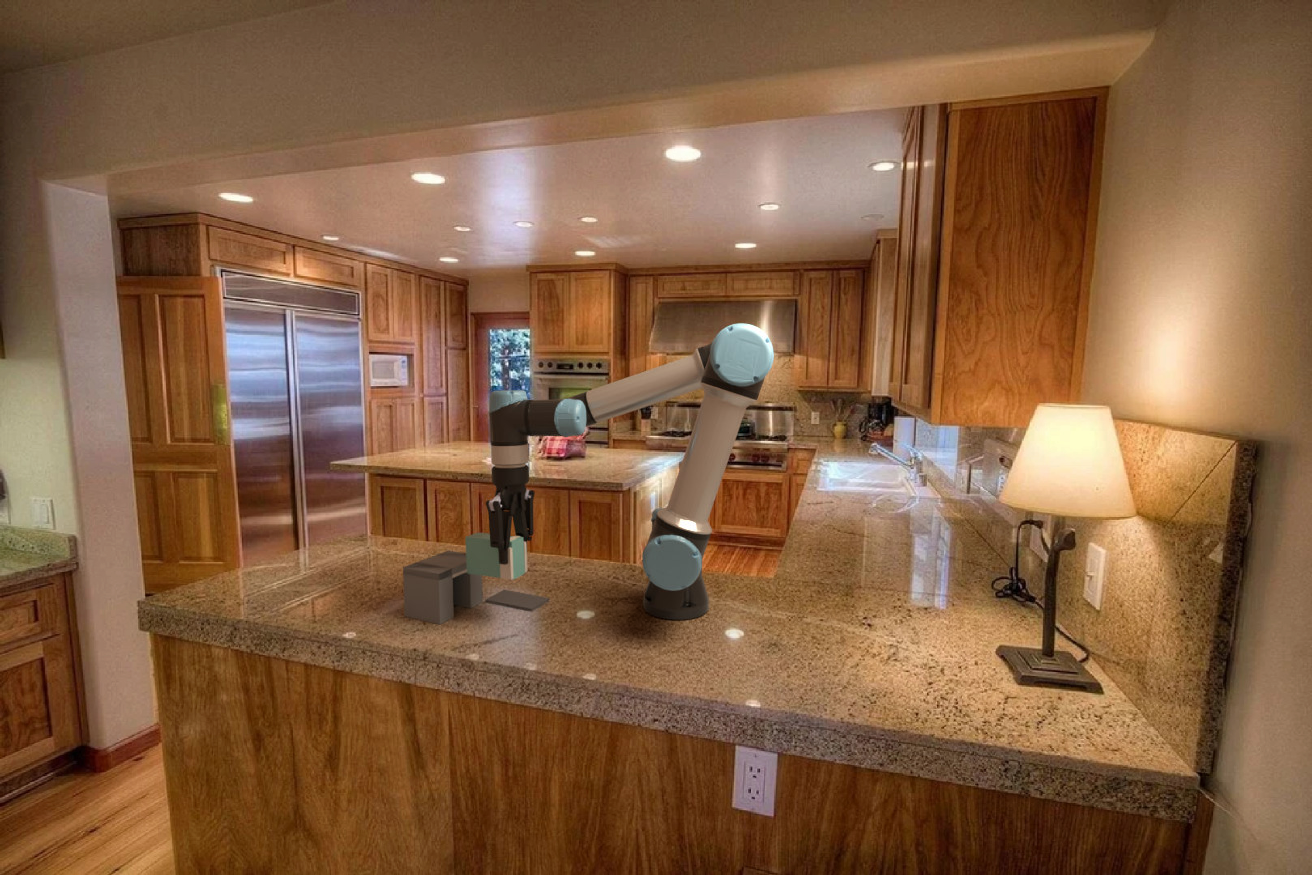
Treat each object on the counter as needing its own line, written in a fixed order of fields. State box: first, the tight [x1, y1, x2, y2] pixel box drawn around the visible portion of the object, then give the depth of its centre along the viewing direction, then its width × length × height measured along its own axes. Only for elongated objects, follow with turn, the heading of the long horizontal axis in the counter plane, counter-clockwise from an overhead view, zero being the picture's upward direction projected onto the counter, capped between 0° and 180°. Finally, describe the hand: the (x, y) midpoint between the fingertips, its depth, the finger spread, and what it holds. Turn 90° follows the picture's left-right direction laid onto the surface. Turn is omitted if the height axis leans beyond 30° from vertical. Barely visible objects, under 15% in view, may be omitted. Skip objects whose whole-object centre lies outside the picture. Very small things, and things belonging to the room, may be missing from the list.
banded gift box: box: [464, 532, 526, 581], centre depth 122 cm, size 12×4×8 cm, turn 68°
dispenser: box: [402, 550, 484, 625], centre depth 128 cm, size 10×14×11 cm
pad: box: [484, 589, 550, 612], centre depth 134 cm, size 13×7×1 cm, turn 67°
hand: (514, 574), depth 120 cm, fingers closed on banded gift box, 4 cm apart
